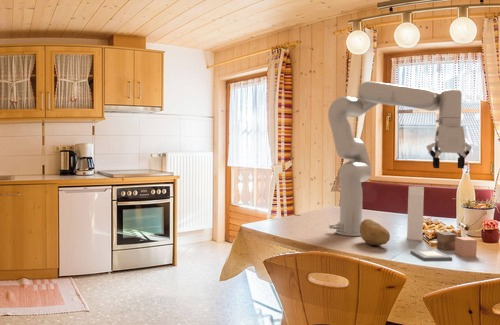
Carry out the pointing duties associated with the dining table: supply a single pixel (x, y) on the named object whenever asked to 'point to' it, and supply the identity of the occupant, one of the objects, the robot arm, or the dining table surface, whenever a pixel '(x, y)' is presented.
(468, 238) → the terracotta block
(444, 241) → the walnut block
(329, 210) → the dining table surface
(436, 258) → the slate board
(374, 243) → the potato
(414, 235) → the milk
